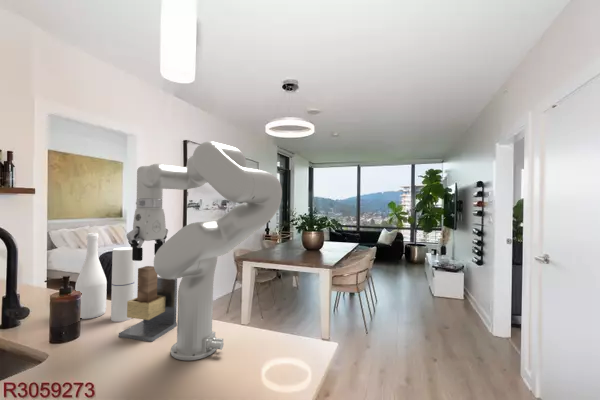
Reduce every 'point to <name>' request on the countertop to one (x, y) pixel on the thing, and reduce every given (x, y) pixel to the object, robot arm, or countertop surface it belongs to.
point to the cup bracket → (153, 313)
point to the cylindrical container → (122, 282)
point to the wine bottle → (92, 282)
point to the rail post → (147, 284)
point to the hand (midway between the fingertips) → (148, 257)
